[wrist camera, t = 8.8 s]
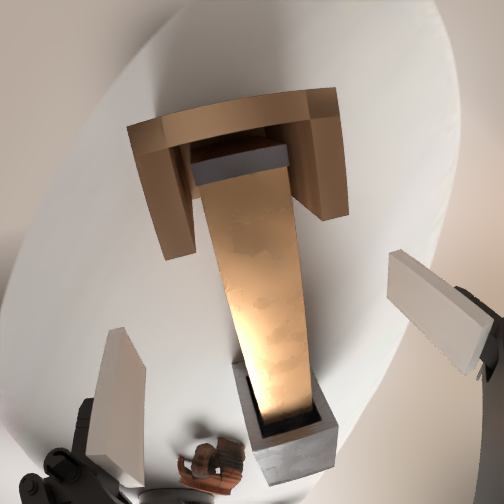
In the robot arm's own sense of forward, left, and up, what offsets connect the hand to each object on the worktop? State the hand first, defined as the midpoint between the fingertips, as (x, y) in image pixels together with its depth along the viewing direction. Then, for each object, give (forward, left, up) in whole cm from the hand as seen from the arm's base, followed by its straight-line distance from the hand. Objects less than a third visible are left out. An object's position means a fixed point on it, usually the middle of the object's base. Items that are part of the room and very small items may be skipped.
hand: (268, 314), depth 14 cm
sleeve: (0, -19, -10) cm, 21 cm away
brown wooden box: (0, +6, -10) cm, 12 cm away
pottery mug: (-11, -31, -11) cm, 34 cm away
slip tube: (0, -3, -8) cm, 9 cm away
